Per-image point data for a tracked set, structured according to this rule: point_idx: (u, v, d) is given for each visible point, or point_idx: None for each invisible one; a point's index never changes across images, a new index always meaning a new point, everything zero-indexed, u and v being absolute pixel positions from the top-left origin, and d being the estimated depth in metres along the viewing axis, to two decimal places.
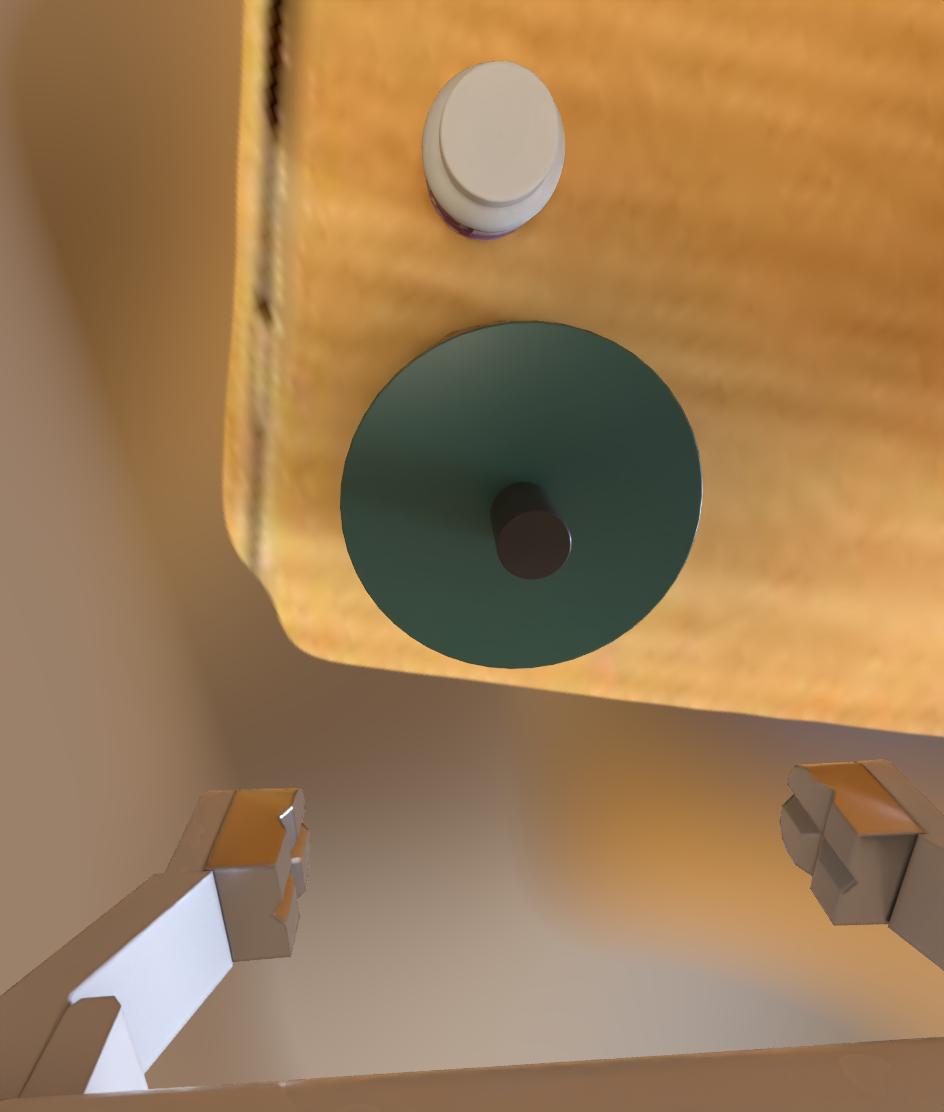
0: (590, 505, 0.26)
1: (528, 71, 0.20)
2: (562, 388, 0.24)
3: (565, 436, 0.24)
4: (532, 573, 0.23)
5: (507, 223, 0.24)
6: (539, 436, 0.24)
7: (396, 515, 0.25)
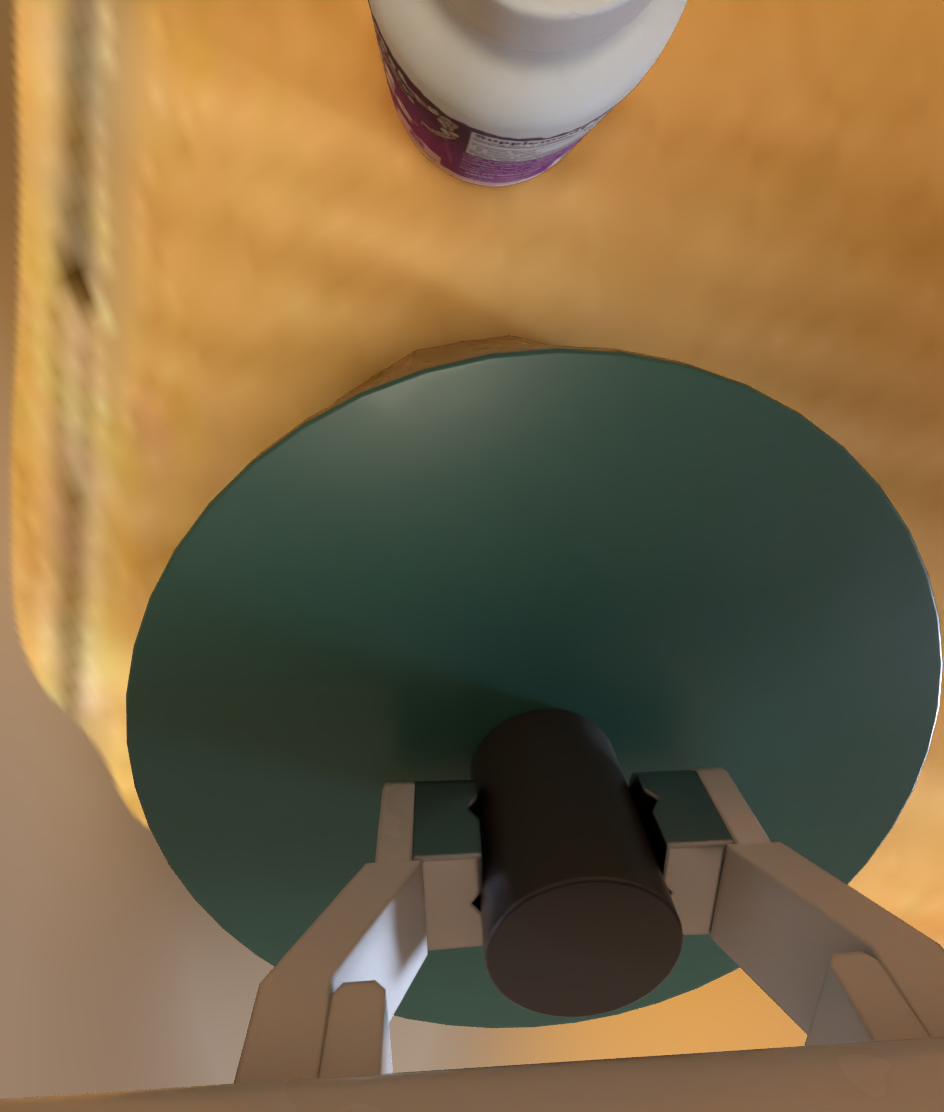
0: (691, 757, 0.12)
1: None
2: (664, 515, 0.10)
3: (656, 619, 0.11)
4: (572, 1006, 0.09)
5: (550, 114, 0.10)
6: (597, 616, 0.10)
7: (258, 762, 0.11)
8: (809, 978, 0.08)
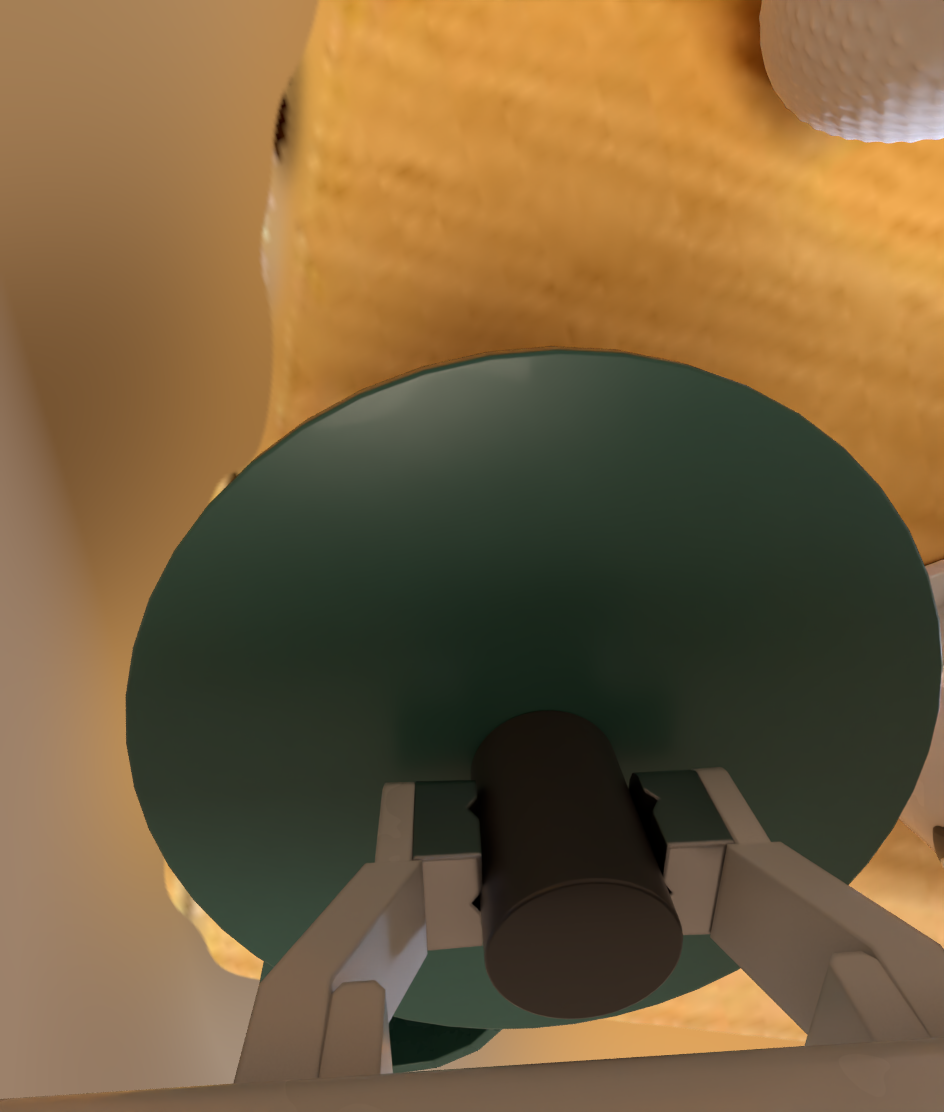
0: (691, 758, 0.12)
1: None
2: (664, 516, 0.10)
3: (656, 620, 0.11)
4: (572, 1008, 0.09)
5: None
6: (597, 617, 0.10)
7: (257, 763, 0.11)
8: (809, 978, 0.08)
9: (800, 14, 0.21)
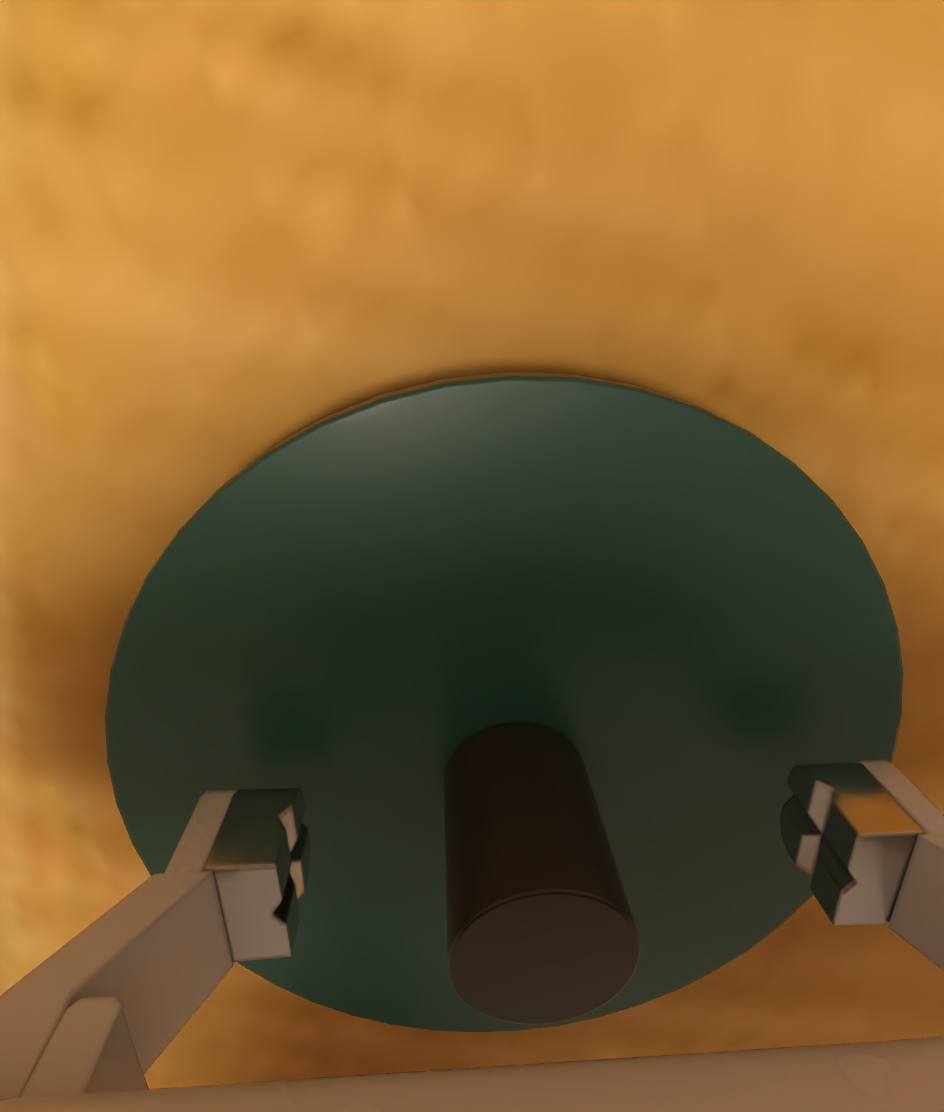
0: (659, 766, 0.12)
1: None
2: (622, 533, 0.10)
3: (619, 633, 0.11)
4: (536, 1013, 0.09)
5: None
6: (561, 632, 0.11)
7: (236, 779, 0.11)
8: None
9: None
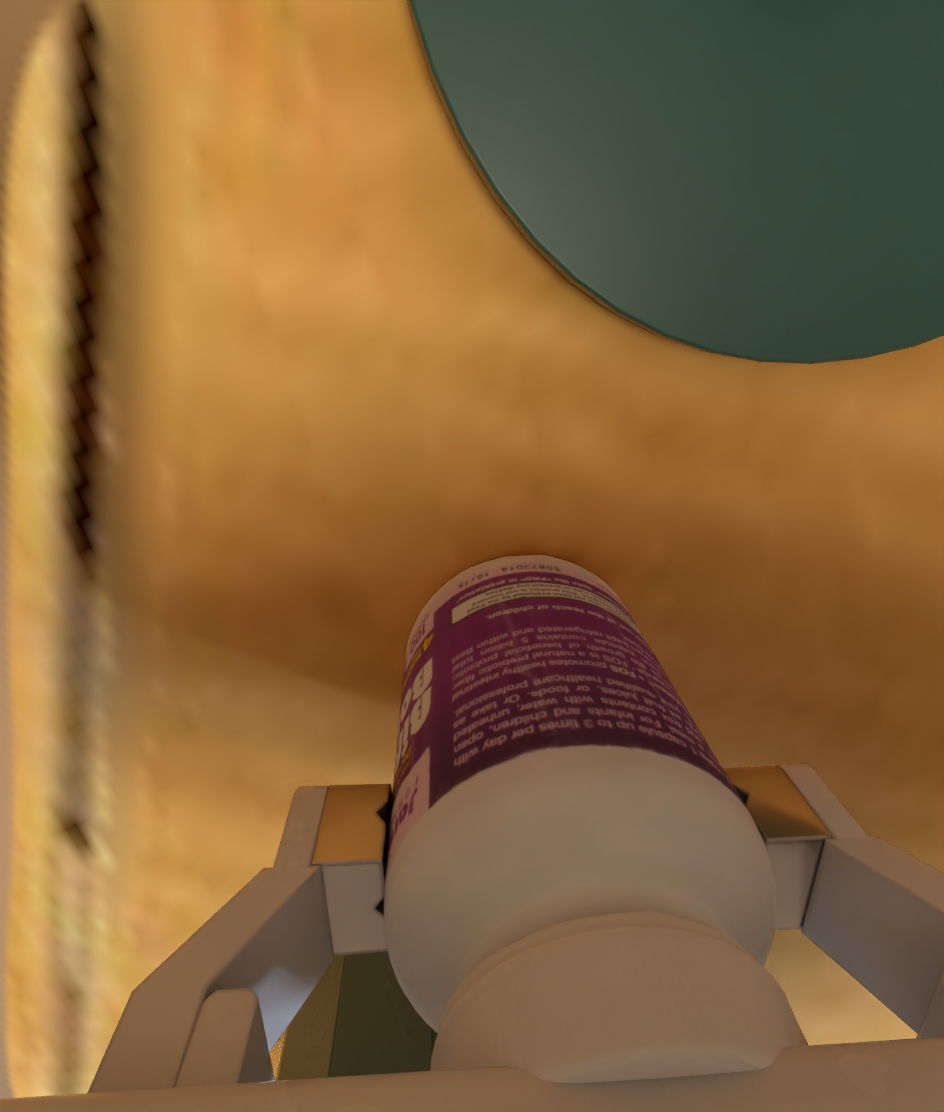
0: None
1: None
2: None
3: None
4: None
5: None
6: None
7: None
8: (915, 971, 0.08)
9: None
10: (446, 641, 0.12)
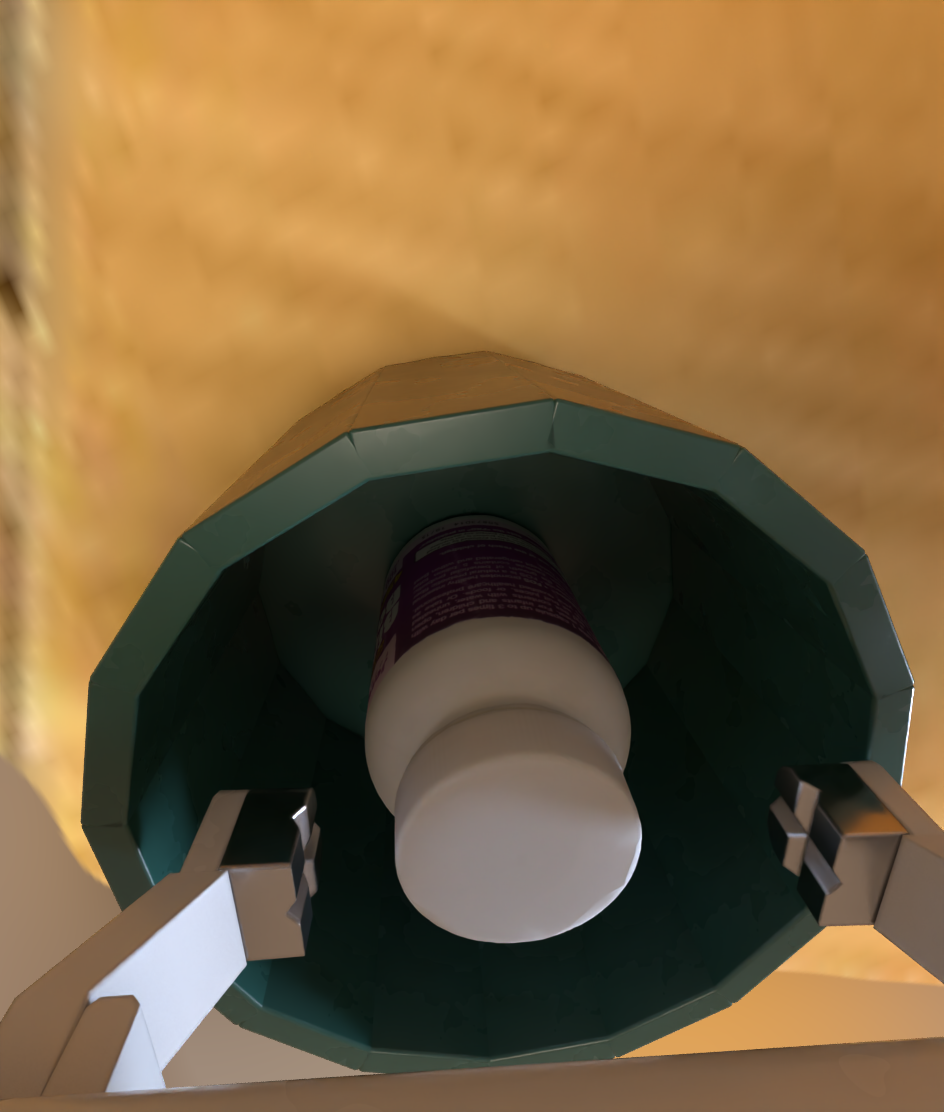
0: None
1: (588, 769, 0.10)
2: None
3: None
4: None
5: None
6: None
7: None
8: None
9: None
10: (410, 572, 0.16)
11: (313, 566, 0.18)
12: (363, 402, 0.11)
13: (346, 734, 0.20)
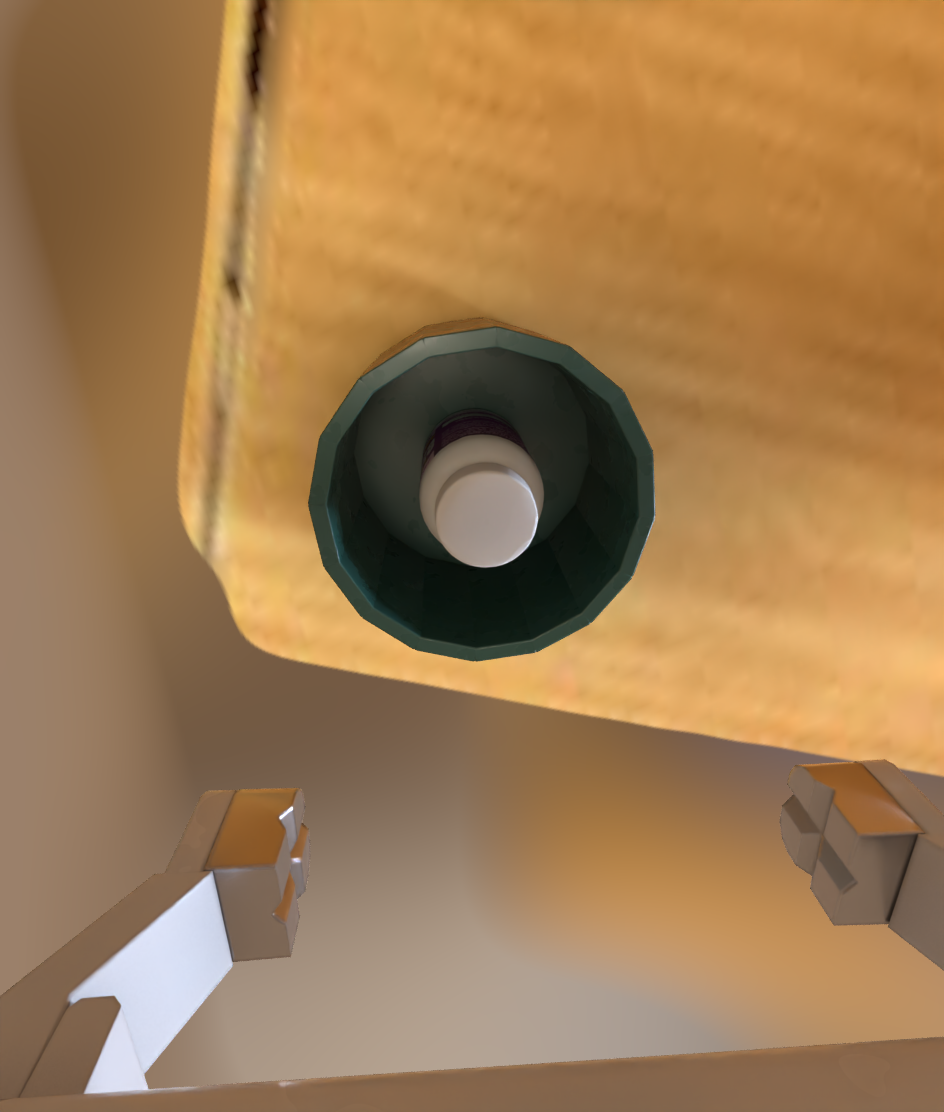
0: None
1: (513, 479, 0.24)
2: None
3: None
4: None
5: None
6: None
7: None
8: None
9: None
10: (439, 432, 0.30)
11: (384, 439, 0.33)
12: (423, 333, 0.25)
13: (400, 542, 0.35)
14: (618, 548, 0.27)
